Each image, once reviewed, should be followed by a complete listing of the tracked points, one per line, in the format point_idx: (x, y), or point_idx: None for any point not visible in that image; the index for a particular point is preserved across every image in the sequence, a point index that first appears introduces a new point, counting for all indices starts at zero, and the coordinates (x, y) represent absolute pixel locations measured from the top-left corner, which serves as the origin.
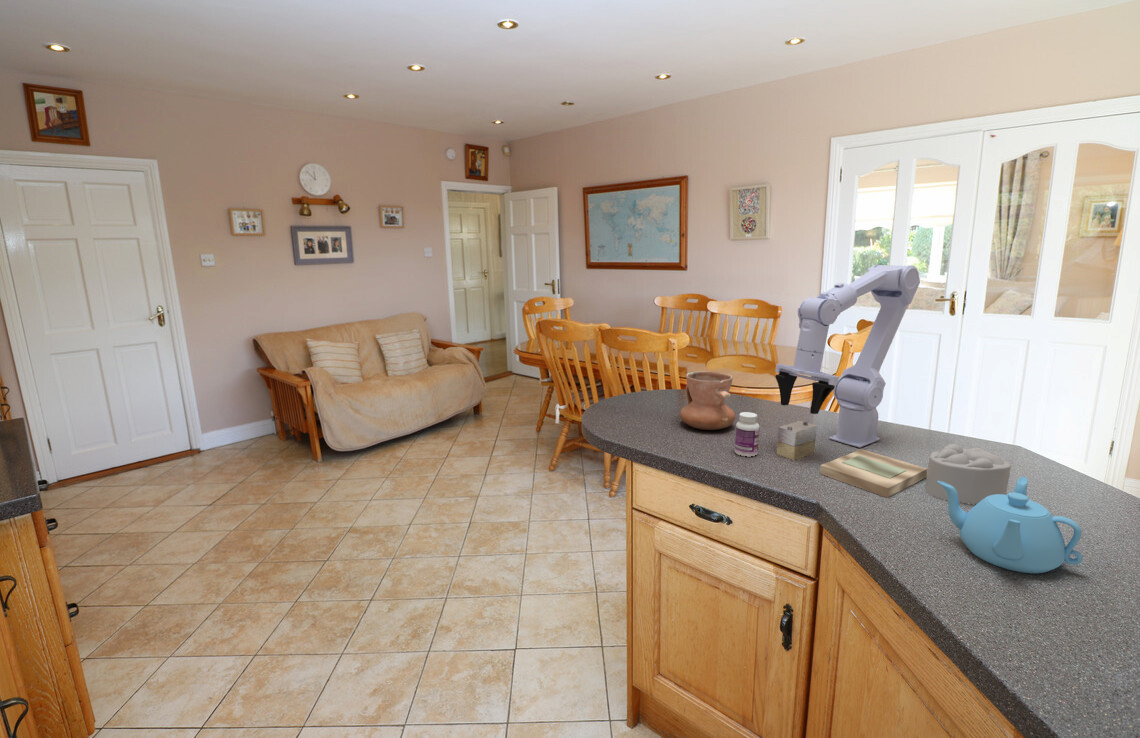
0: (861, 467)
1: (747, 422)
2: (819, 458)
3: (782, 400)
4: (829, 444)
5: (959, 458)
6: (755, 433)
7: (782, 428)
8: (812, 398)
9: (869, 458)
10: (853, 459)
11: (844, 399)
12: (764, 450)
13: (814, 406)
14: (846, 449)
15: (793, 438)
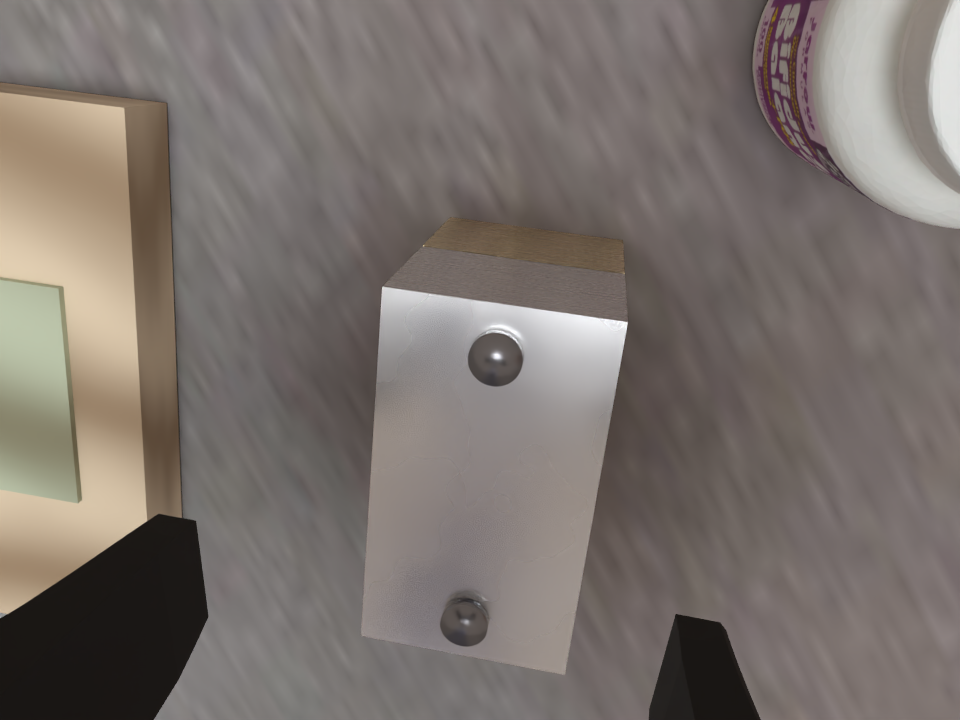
0: None
1: None
2: (343, 405)
3: (698, 668)
4: (439, 699)
5: None
6: (814, 4)
7: (570, 314)
8: (16, 683)
9: (18, 506)
10: (48, 400)
11: None
12: (757, 258)
13: (62, 580)
14: (316, 678)
15: (426, 269)
